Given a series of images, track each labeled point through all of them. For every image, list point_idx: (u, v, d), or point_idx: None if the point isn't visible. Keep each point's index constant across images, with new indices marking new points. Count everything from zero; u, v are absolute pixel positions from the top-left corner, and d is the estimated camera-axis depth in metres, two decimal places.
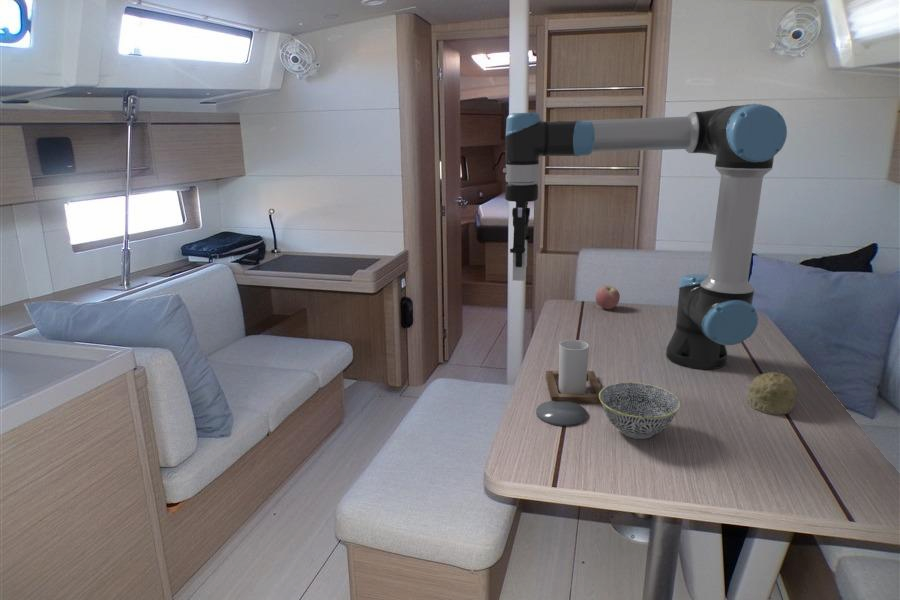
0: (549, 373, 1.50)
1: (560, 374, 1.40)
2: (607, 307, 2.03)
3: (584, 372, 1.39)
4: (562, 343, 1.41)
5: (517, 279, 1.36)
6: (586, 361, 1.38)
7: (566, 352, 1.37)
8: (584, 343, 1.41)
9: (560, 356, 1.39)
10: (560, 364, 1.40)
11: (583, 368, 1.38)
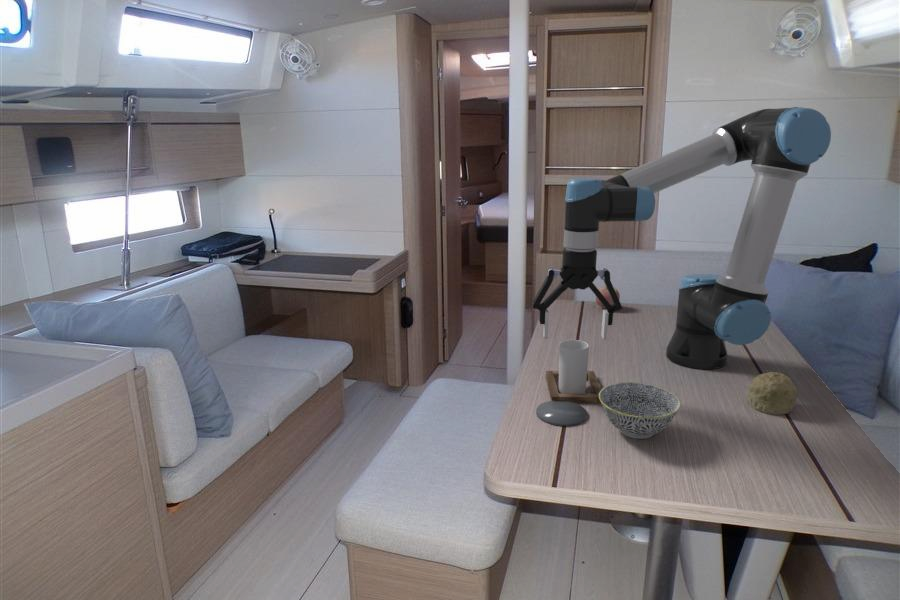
0: (549, 373, 1.50)
1: (560, 374, 1.40)
2: None
3: (584, 372, 1.39)
4: (562, 343, 1.41)
5: (543, 335, 1.41)
6: (586, 361, 1.38)
7: (566, 352, 1.37)
8: (584, 343, 1.41)
9: (560, 356, 1.39)
10: (560, 364, 1.40)
11: (583, 368, 1.38)
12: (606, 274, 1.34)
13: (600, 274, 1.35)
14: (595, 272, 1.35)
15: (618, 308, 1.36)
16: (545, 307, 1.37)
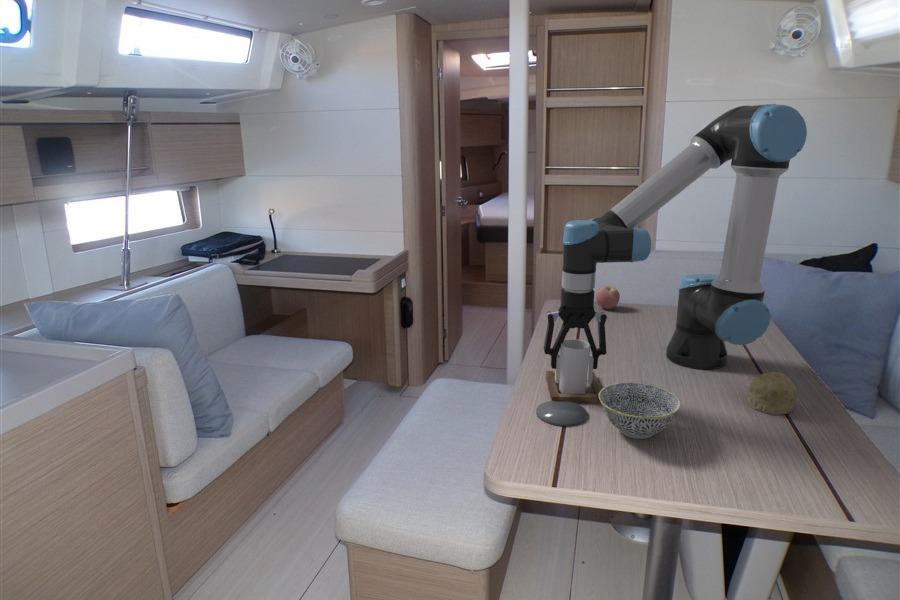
0: (549, 373, 1.50)
1: (561, 373, 1.40)
2: (607, 307, 2.03)
3: (585, 372, 1.39)
4: (563, 342, 1.41)
5: (555, 379, 1.44)
6: (587, 361, 1.38)
7: (567, 351, 1.37)
8: (585, 343, 1.41)
9: (561, 355, 1.39)
10: (561, 363, 1.40)
11: (584, 368, 1.38)
12: (603, 318, 1.37)
13: (597, 316, 1.38)
14: (593, 312, 1.37)
15: (602, 353, 1.40)
16: (556, 352, 1.40)
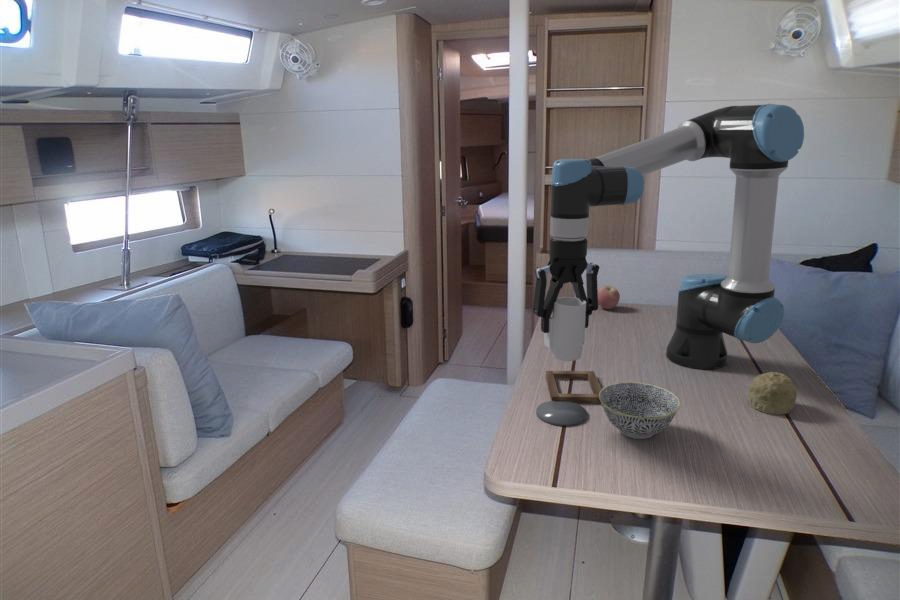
0: (549, 373, 1.50)
1: (556, 336, 1.23)
2: (607, 307, 2.03)
3: (583, 331, 1.23)
4: None
5: (546, 345, 1.26)
6: (584, 318, 1.23)
7: (566, 310, 1.20)
8: (577, 299, 1.25)
9: (557, 315, 1.22)
10: (557, 325, 1.23)
11: (583, 327, 1.23)
12: (595, 268, 1.23)
13: (588, 267, 1.24)
14: (586, 263, 1.22)
15: (594, 308, 1.26)
16: (549, 313, 1.23)
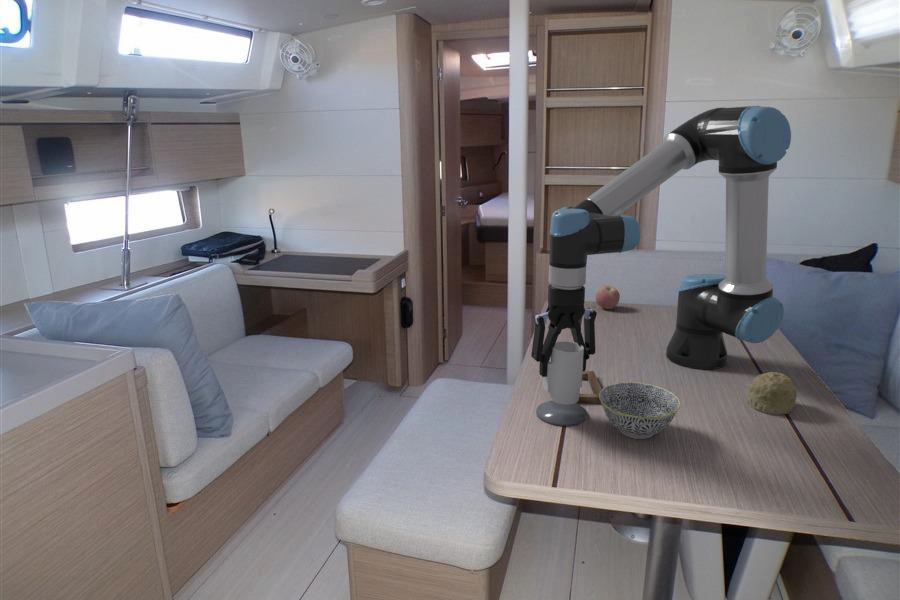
0: None
1: (555, 381, 1.26)
2: (607, 307, 2.03)
3: (580, 375, 1.26)
4: None
5: (544, 388, 1.29)
6: (582, 363, 1.26)
7: (564, 355, 1.23)
8: (575, 344, 1.28)
9: (555, 361, 1.25)
10: (555, 370, 1.25)
11: (580, 372, 1.26)
12: (593, 314, 1.26)
13: (586, 313, 1.26)
14: (584, 309, 1.25)
15: (592, 352, 1.28)
16: (547, 358, 1.26)
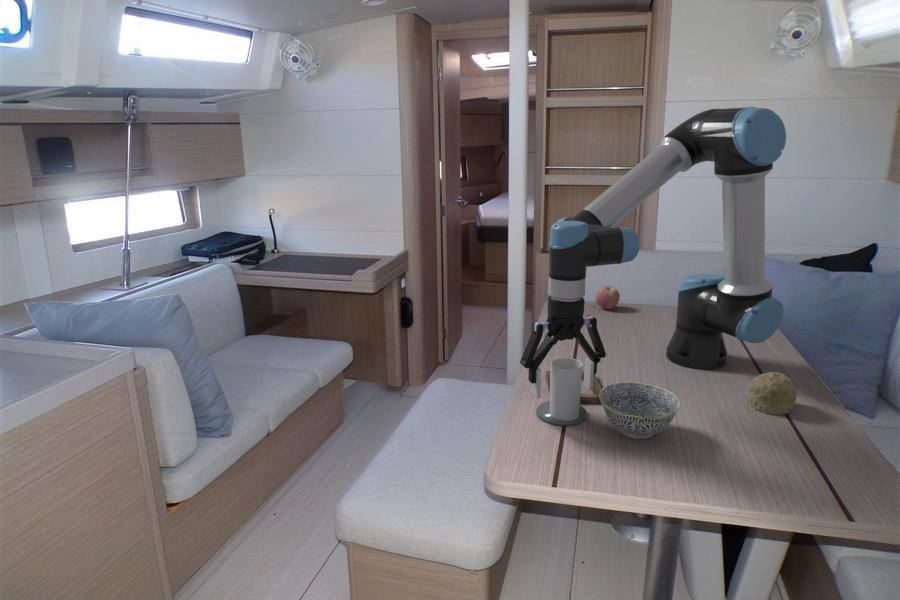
0: (549, 373, 1.50)
1: (554, 397, 1.27)
2: (607, 307, 2.03)
3: (580, 392, 1.27)
4: (552, 363, 1.28)
5: (533, 394, 1.29)
6: (581, 380, 1.27)
7: (563, 373, 1.24)
8: (574, 360, 1.29)
9: (554, 378, 1.26)
10: (554, 387, 1.26)
11: (580, 388, 1.27)
12: (593, 321, 1.26)
13: (586, 322, 1.27)
14: (583, 320, 1.26)
15: (602, 356, 1.30)
16: (537, 365, 1.25)
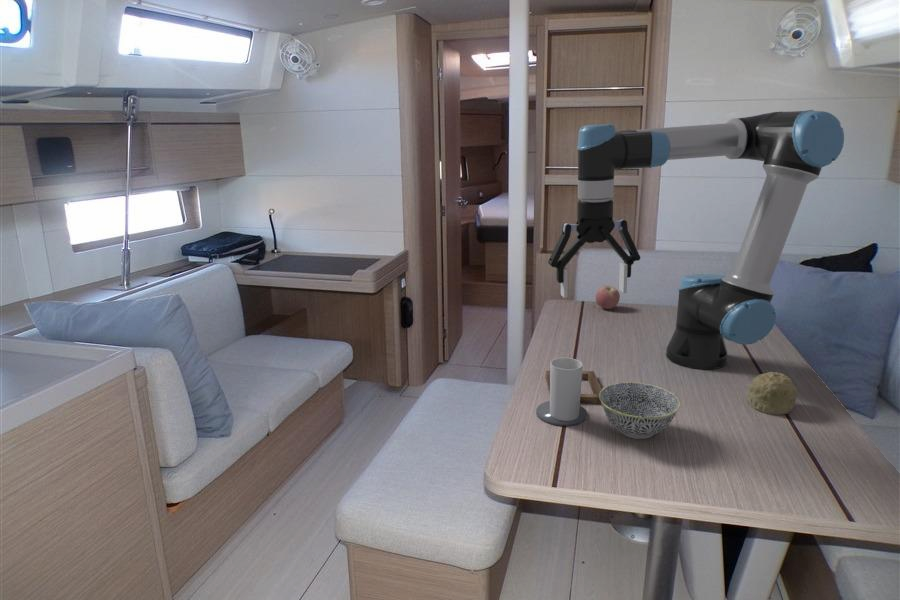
0: (549, 373, 1.50)
1: (554, 398, 1.27)
2: (607, 307, 2.03)
3: (580, 392, 1.27)
4: (552, 363, 1.28)
5: (562, 295, 1.34)
6: (581, 380, 1.27)
7: (563, 373, 1.24)
8: (574, 360, 1.29)
9: (554, 378, 1.26)
10: (554, 387, 1.26)
11: (580, 388, 1.27)
12: (623, 224, 1.30)
13: (617, 225, 1.30)
14: (612, 223, 1.30)
15: (636, 259, 1.32)
16: (563, 264, 1.31)
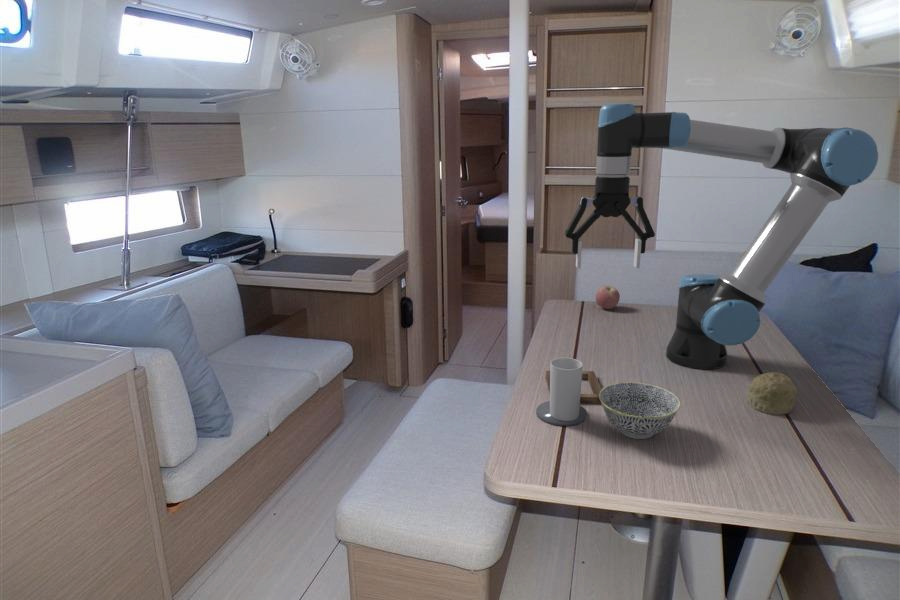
0: (549, 373, 1.50)
1: (554, 398, 1.27)
2: (607, 307, 2.03)
3: (580, 392, 1.27)
4: (552, 363, 1.28)
5: (576, 265, 1.42)
6: (581, 380, 1.27)
7: (563, 373, 1.24)
8: (574, 360, 1.29)
9: (554, 378, 1.26)
10: (554, 387, 1.26)
11: (580, 388, 1.27)
12: (639, 201, 1.35)
13: (633, 201, 1.36)
14: (628, 199, 1.36)
15: (651, 235, 1.37)
16: (578, 236, 1.38)
